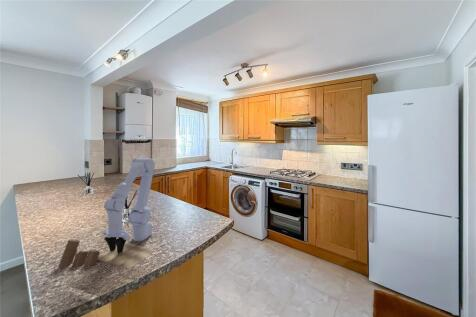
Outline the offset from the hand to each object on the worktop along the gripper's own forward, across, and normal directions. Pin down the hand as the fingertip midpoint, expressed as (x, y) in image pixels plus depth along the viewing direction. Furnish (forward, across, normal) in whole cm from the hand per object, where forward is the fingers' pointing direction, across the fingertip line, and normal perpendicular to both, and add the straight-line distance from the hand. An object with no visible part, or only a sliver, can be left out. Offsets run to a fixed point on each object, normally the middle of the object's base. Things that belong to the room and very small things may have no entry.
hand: (116, 251), depth 100 cm
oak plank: (+1, 0, 0) cm, 1 cm away
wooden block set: (+2, -9, -12) cm, 15 cm away
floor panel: (+1, +10, 0) cm, 10 cm away
